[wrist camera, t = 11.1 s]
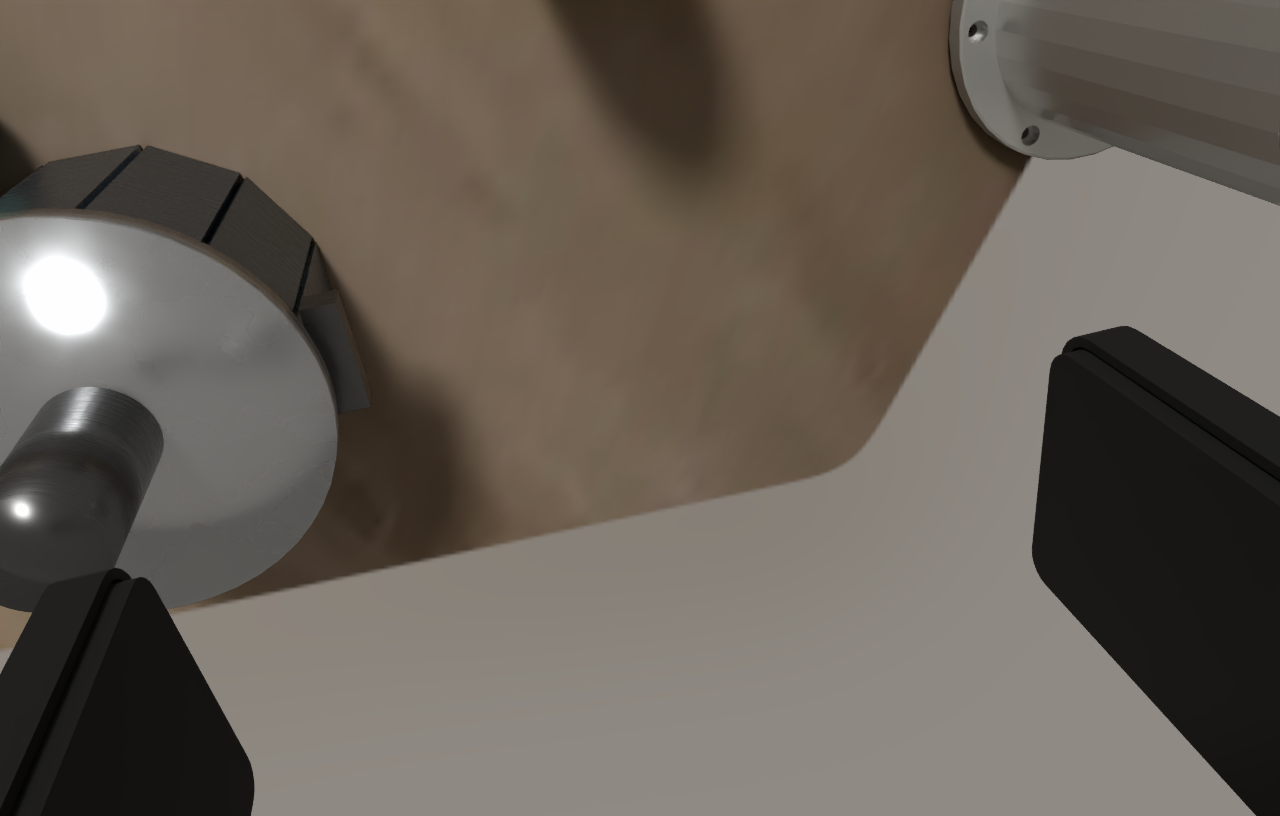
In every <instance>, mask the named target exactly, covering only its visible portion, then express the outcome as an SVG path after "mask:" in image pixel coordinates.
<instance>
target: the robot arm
mask: <svg viewBox="0 0 1280 816" xmlns="http://www.w3.org/2000/svg"><path fill="white" fill-rule="evenodd" d="M970 27H972V29H971V32H970V33H969V29H970ZM968 33H969V34H968ZM949 45H950V55H951V66H952V71H953V75H954V78H955V82H956V85H957V89H958V92H959V95H960V97H961V99H962V101H963V102H964V104H965V106H966V108H967V110H968V112H969V114H970V115H971V117H972V118H973V119H974V120H975V121H976V122H977V124H978V125H979V126H980V127H981V128H982V129H983V130H984V131H985V133H986V134H988V135H989V136H991V137H992V138H994V139H995V140H997V141H998V142H1000V143H1001V144H1003V145H1004V146H1006V147H1008V148H1011V149H1013V150H1015V151H1017V152H1020V153H1022V154H1025V155H1029V156H1034V157H1038V158H1043V159H1047V160H1048V159H1049V160H1050V159H1074V158H1079V157H1084V156H1088V155H1093V154H1096V153H1098V152H1101V151H1103V150H1105V149H1108V148H1110V147H1113V146H1115V147H1118V148H1121V149H1124V150H1127V151H1129V152H1132V153H1135V154H1137V155H1140V156H1143V157H1146V158H1149V159H1151V160H1154V161H1157V162H1160V163H1162V164H1165V165H1168V166H1171V167H1174V168H1176V169H1179V170H1182V171H1185V172H1188V173H1190V174H1193V175H1196V176H1199V177H1202V178H1204V179H1207V180H1210V181H1212V182H1215V183H1218V184H1221V185H1224V186H1226V187H1229V188H1232V189H1235V190H1238V191H1240V192H1243V193H1246V194H1249V195H1252V196H1254V197H1257V198H1260V199H1262V200H1265V201H1268V202H1271V203H1273V204H1276V205H1279V206H1280V0H953V5H952V9H951V21H950V34H949ZM1032 557H1033V561H1034V565H1035V568H1036V570H1037V572H1038V574H1039V576H1040V578H1041V579H1042V581H1043V582H1044V583H1045V584H1046V586H1047V587H1048V588H1049V589H1050V590H1051V591H1052V592H1053V593H1054V594H1055V596H1056V597H1058V599H1059V600H1060V601H1061V602H1062V603H1063V604H1064V605H1065V606H1066V608H1068V610H1069V611H1070V612H1071V613H1072V614H1073V615H1074V616H1075V617H1076V619H1077V620H1079V622H1080V623H1081V624H1082V625H1083V626H1084V627H1085V628H1086V630H1088V632H1089V633H1090V634H1091V635H1092V636H1093V637H1094V638H1095V639H1096V640H1097V642H1098V643H1099V644H1100V645H1101V646H1102V647H1103V648H1104V649H1105V650H1106V651H1107V652H1108V654H1109V655H1110V656H1111V657H1112V658H1113V659H1114V660H1115V661H1116V662H1117V664H1119V666H1120V667H1121V668H1122V669H1123V670H1124V671H1125V672H1126V673H1127V675H1129V677H1130V678H1131V679H1132V680H1133V681H1134V682H1135V683H1136V684H1137V685H1138V686H1139V687H1140V689H1141V690H1142V691H1143V692H1144V693H1145V694H1146V695H1147V696H1148V698H1149V699H1151V701H1152V702H1153V703H1154V704H1155V705H1156V706H1157V707H1158V708H1159V710H1160V711H1161V712H1162V713H1163V714H1164V715H1165V716H1166V717H1167V718H1168V719H1169V720H1170V722H1171V723H1172V724H1173V725H1174V726H1175V727H1176V728H1177V729H1178V730H1179V731H1180V733H1181V734H1182V735H1183V736H1184V737H1185V738H1186V739H1187V740H1188V741H1189V743H1190V744H1191V745H1192V746H1193V747H1194V748H1195V749H1196V750H1197V751H1198V752H1199V753H1200V755H1202V757H1203V758H1204V759H1205V760H1206V761H1207V762H1208V763H1209V764H1210V766H1211V767H1212V768H1213V769H1214V770H1215V771H1216V772H1217V773H1218V774H1219V775H1220V776H1221V778H1222V779H1223V780H1224V781H1225V782H1226V783H1227V784H1228V785H1229V786H1230V787H1231V789H1233V791H1234V792H1235V793H1236V794H1237V795H1238V796H1239V797H1240V798H1241V800H1242V801H1243V802H1244V803H1245V804H1246V805H1247V806H1248V807H1249V808H1250V809H1251V811H1253V813H1254V814H1255V815H1256V816H1280V417H1279V416H1278V415H1276V414H1274V413H1273V412H1271V411H1269V410H1268V409H1266V408H1264V407H1263V406H1261V405H1259V404H1258V403H1256V402H1255V401H1253V400H1251V399H1250V398H1248V397H1246V396H1245V395H1243V394H1241V393H1240V392H1238V391H1237V390H1235V389H1233V388H1232V387H1230V386H1228V385H1227V384H1225V383H1223V382H1222V381H1220V380H1218V379H1217V378H1215V377H1213V376H1212V375H1210V374H1208V373H1207V372H1205V371H1204V370H1202V369H1200V368H1198V367H1197V366H1195V365H1194V364H1192V363H1190V362H1189V361H1187V360H1186V359H1184V358H1182V357H1181V356H1179V355H1177V354H1176V353H1174V352H1172V351H1171V350H1169V349H1167V348H1166V347H1164V346H1162V345H1161V344H1159V343H1158V342H1156V341H1154V340H1153V339H1151V338H1149V337H1148V336H1146V335H1144V334H1143V333H1141V332H1139V331H1138V330H1136V329H1133V328H1131V327H1129V326H1120V327H1116V328H1111V329H1107V330H1103V331H1099V332H1095V333H1090V334H1086V335H1082V336H1078V337H1074V338H1072V339H1071V340H1069V341H1068V342H1067V343H1066V345H1065V346H1064V348H1063V351H1062V354H1061V355H1058V356H1057V357H1055V358H1054V360H1053V362H1052V363H1051V368H1050V374H1049V384H1048V394H1047V404H1046V414H1045V424H1044V434H1043V444H1042V454H1041V464H1040V474H1039V484H1038V493H1037V503H1036V514H1035V523H1034V534H1033V543H1032ZM253 800H254V778H253V771H252V767H251V764H250V761H249V759H248V757H247V755H246V753H245V751H244V749H243V747H242V746H241V744H240V742H239V740H238V739H237V737H236V735H235V733H234V732H233V730H232V727H231V726H230V724H229V722H228V720H227V719H226V717H225V715H224V713H223V711H222V709H221V707H220V706H219V704H218V702H217V700H216V698H215V697H214V695H213V693H212V691H211V689H210V688H209V686H208V684H207V682H206V680H205V678H204V676H203V675H202V673H201V671H200V669H199V667H198V666H197V664H196V662H195V660H194V658H193V656H192V655H191V653H190V651H189V649H188V647H187V646H186V644H185V642H184V641H183V638H182V636H181V635H180V633H179V631H178V629H177V628H176V626H175V624H174V622H173V620H172V618H171V616H170V615H169V613H168V611H167V609H166V607H165V606H164V604H163V602H162V600H161V598H160V596H159V595H158V593H157V591H156V589H155V588H154V586H153V585H152V583H151V582H150V581H149V580H148V579H146V578H144V577H138V578H134V579H132V578H131V577H130V575H129V574H128V573H126V572H125V571H124V570H123V569H120V568H111V569H107V570H103V571H98V572H94V573H90V574H86V575H82V576H77V577H73V578H69V579H65V580H61V581H57V582H54V583H52V584H50V585H48V587H47V588H46V589H45V591H44V592H43V593H42V595H41V597H40V599H39V601H38V603H37V605H36V607H35V609H34V611H33V613H32V614H31V616H30V618H29V620H28V622H27V624H26V626H25V628H24V630H23V632H22V634H21V635H20V637H19V639H18V641H17V643H16V645H15V647H14V649H13V651H12V653H11V655H10V657H9V659H8V661H7V662H6V664H5V666H4V668H3V670H2V672H1V674H0V816H251V811H252V805H253Z"/></svg>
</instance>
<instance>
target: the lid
mask: <svg viewBox="0 0 1280 816" xmlns="http://www.w3.org/2000/svg"><path fill="white" fill-rule="evenodd" d="M338 427H339V420H338V411H337V403H336V396H335V393H334V389H333V385H332V382H331V378H330V375H329V372H328V370H327V367H326V365H325V363H324V361H323V358H322V356H321V354H320V352H319V349H318V348H317V346H316V344H315V343H314V341H313V340H312V338H311V336H310V335H309V333H308V331H307V330H306V328H305V327H304V325H303V324H302V323H301V322H300V320H299V319H298V318H297V317H296V315H295V314H294V313H293V312H292V310H291V309H290V308H289V307H288V306H287V304H286V303H285V302H284V301H283V300H282V299H281V298H280V297H279V296H278V295H277V294H276V293H274V292H273V291H272V290H271V289H270V288H269V287H268V286H267V285H266V284H265V283H264V282H263V281H262V280H260V279H259V278H258V277H256V276H255V275H254V274H252V273H251V272H250V271H248V270H247V269H246V268H244V267H243V266H242V265H240V264H239V263H238V262H236V261H235V260H233V259H231V258H229V257H228V256H226V255H224V254H223V253H221V252H219V251H218V250H216V249H214V248H213V247H211V246H209V245H207V244H205V243H203V242H201V241H199V240H196V239H194V238H192V237H190V236H188V235H185V234H183V233H181V232H179V231H176V230H173V229H170V228H167V227H164V226H161V225H158V224H155V223H152V222H149V221H146V220H143V219H138V218H134V217H129V216H124V215H120V214H115V213H111V212H104V211H94V210H84V209H75V208H43V209H29V210H21V211H13V212H6V213H0V605H1V606H4V607H6V608H10V609H14V610H18V611H24V612H33V611H34V609H35V607H36V605H37V603H38V601H39V599H40V597H41V595H42V593H43V592H44V591H45V589H46V588H47V587H48V585H50V584H52V583H54V582H57V581H61V580H65V579H69V578H73V577H77V576H82V575H86V574H90V573H94V572H98V571H103V570H107V569H111V568H120V569H123V570H124V571H125V572H126V573H128V574H129V575H130V577H131V578H132V579H134V578H138V577H144V578H146V579H148V580H149V581H150V582H151V583H152V585H153V586H154V588H155V589H156V591H157V593H158V595H159V596H160V598H161V600H162V602H163V604H164V606H165V607H166V609H171V608H176V607H181V606H186V605H190V604H193V603H196V602H200V601H203V600H206V599H210V598H213V597H215V596H218V595H220V594H223V593H225V592H227V591H230V590H232V589H234V588H237V587H239V586H241V585H242V584H244V583H246V582H248V581H249V580H251V579H253V578H255V577H256V576H258V575H260V574H261V573H263V572H264V571H265V570H267V569H268V568H270V567H271V566H272V565H274V564H275V563H276V562H278V561H279V560H280V559H281V558H282V557H283V556H284V555H285V554H287V553H288V552H289V551H290V550H291V549H292V548H293V547H294V546H295V545H296V544H297V543H298V542H299V540H300V539H301V538H302V537H303V535H304V534H305V533H306V531H307V530H308V529H309V528H310V526H311V525H312V523H313V522H314V520H315V518H316V516H317V515H318V513H319V511H320V509H321V508H322V506H323V504H324V501H325V498H326V496H327V493H328V491H329V488H330V485H331V482H332V477H333V472H334V467H335V463H336V456H337V447H338Z"/></svg>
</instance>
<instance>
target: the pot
mask: <svg viewBox="0 0 1280 816" xmlns="http://www.w3.org/2000/svg"><path fill="white" fill-rule="evenodd" d="M239 175H240V173H238V172H235V171H231V170H228V169H225V168H221V167H218V166H215V165H211V164H208V163H205V162H201V161H198V160H195V159H191V158H188V157H185V156H181V155H178V154H175V153H171V152H168V151H165V150H161V149H158V148H155V147H151V146H147V147H146V148H145V149H144V150H143V151H142V150H141V147H140V145H136V146H131V147H126V148H121V149H115V150H110V151H105V152H99V153H94V154H89V155H83V156H78V157H73V158H67V159H62V160H57V161H51V162H48V163H47V164H46V165H44V166H41V167H39V168H38V169H37V170H35V171H34V172H33V173H31V174H30V175H29V176H28V177H26V178H25V179H24V180H22V181H21V182H20V183H18V184H17V185H16V186H14V187H13V188H12V189H11V190H9V191H8V192H7V193H5V194H4V195H3V196H1V197H0V213H6V212H13V211H21V210H29V209H43V208H75V209H84V210H94V211H104V212H111V213H115V214H120V215H124V216H129V217H134V218H138V219H143V220H146V221H149V222H152V223H155V224H158V225H161V226H164V227H167V228H170V229H173V230H176V231H179V232H181V233H183V234H185V235H188V236H190V237H192V238H194V239H196V240H199V241H201V242H203V243H205V244H207V245H209V246H211V247H213V248H214V249H216V250H218V251H219V252H221V253H223V254H224V255H226V256H228V257H229V258H231V259H233V260H235V261H236V262H238V263H239V264H240V265H242V266H243V267H244V268H246V269H247V270H248V271H250V272H251V273H252V274H254V275H255V276H256V277H258V278H259V279H260V280H262V281H263V282H264V283H265V284H266V285H267V286H268V287H269V288H270V289H271V290H272V291H273V292H274V293H276V294H277V295H278V296H279V297H280V298H281V299H282V300H283V301H284V302H285V303H286V304H287V306H288V307H289V308H290V309H291V310H292V312H293V313H294V314H295V315H296V317H297V318H298V319H299V320H300V322H301V323H302V324H303V325H304V327H305V328H306V330H307V331H308V333H309V335H310V336H311V338H312V340H313V341H314V343H315V344H316V346H317V348H318V349H319V352H320V354H321V356H322V358H323V361H324V363H325V365H326V367H327V370H328V372H329V375H330V378H331V382H332V385H333V389H334V393H335V396H336V403H337V411H338V414H341V413H345V412H350V411H354V410H359V409H363V408H367V407H371V392H372V391H371V388H370V385H369V382H368V379H367V376H366V373H365V370H364V367H363V364H362V361H361V358H360V355H359V352H358V349H357V346H356V343H355V340H354V337H353V334H352V331H351V328H350V325H349V322H348V319H347V316H346V313H345V310H344V307H343V304H342V301H341V298H340V295H339V292H338V289H337V290H332V289H331V286H330V283H329V280H328V277H327V274H326V271H325V268H324V265H323V262H322V259H321V256H320V253H319V250H318V247H317V244H316V243H311V239H312V236H311V235H310V234H309V233H308V232H306V231H305V230H304V229H303V228H302V227H301V226H300V225H299V224H298V223H297V222H295V221H294V220H293V219H292V218H291V217H290V216H289V215H288V214H287V213H286V212H285V211H283V210H282V209H281V208H280V207H279V206H278V205H277V204H276V203H275V202H274V201H273V200H271V199H270V198H269V197H268V196H267V195H266V194H265V193H264V192H263V191H262V190H260V189H259V188H258V187H257V186H256V185H255V184H254V183H253V182H252V181H251V180H250V179H248V178H247V177H246V178H245V179H244V180H243V181H242V182H241V183H240V184H239V185H238V186H237V184H238V179H239ZM310 243H311V244H310Z"/></svg>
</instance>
